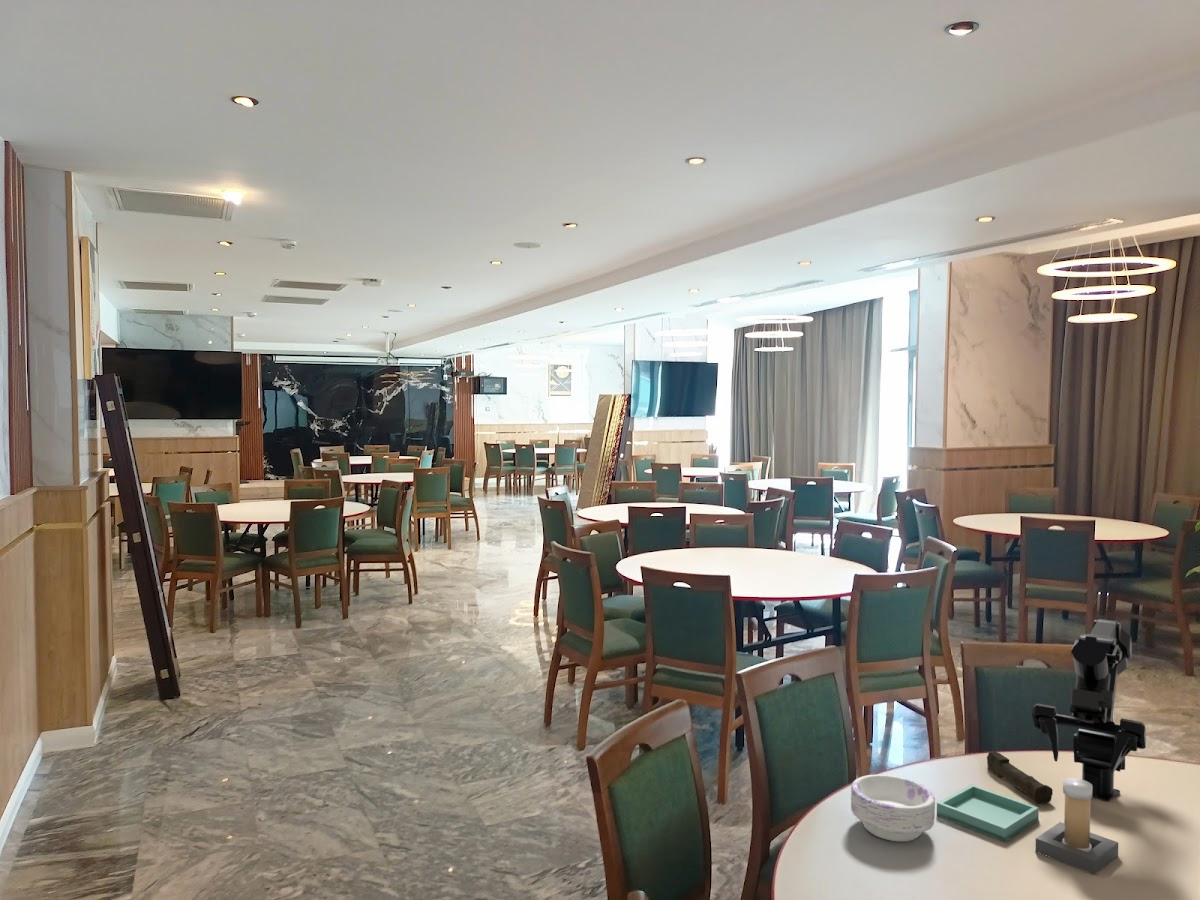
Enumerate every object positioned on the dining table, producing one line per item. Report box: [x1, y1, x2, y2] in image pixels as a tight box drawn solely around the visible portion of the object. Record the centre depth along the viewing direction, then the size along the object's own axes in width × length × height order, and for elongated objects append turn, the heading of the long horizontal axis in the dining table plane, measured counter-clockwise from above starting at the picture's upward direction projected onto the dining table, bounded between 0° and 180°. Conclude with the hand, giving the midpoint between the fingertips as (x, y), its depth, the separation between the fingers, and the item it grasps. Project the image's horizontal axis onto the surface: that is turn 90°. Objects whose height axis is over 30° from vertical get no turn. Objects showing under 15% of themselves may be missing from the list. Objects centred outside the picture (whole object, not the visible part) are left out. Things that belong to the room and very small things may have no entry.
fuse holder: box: [1035, 821, 1119, 876], centre depth 152 cm, size 10×10×2 cm
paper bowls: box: [850, 774, 936, 842], centre depth 161 cm, size 15×15×8 cm
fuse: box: [1062, 777, 1093, 852], centre depth 151 cm, size 5×5×13 cm
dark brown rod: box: [986, 750, 1053, 805], centre depth 181 cm, size 19×4×5 cm, turn 7°
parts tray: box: [936, 784, 1040, 843], centre depth 166 cm, size 14×14×2 cm
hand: (1083, 766), depth 157 cm, fingers open, 9 cm apart
